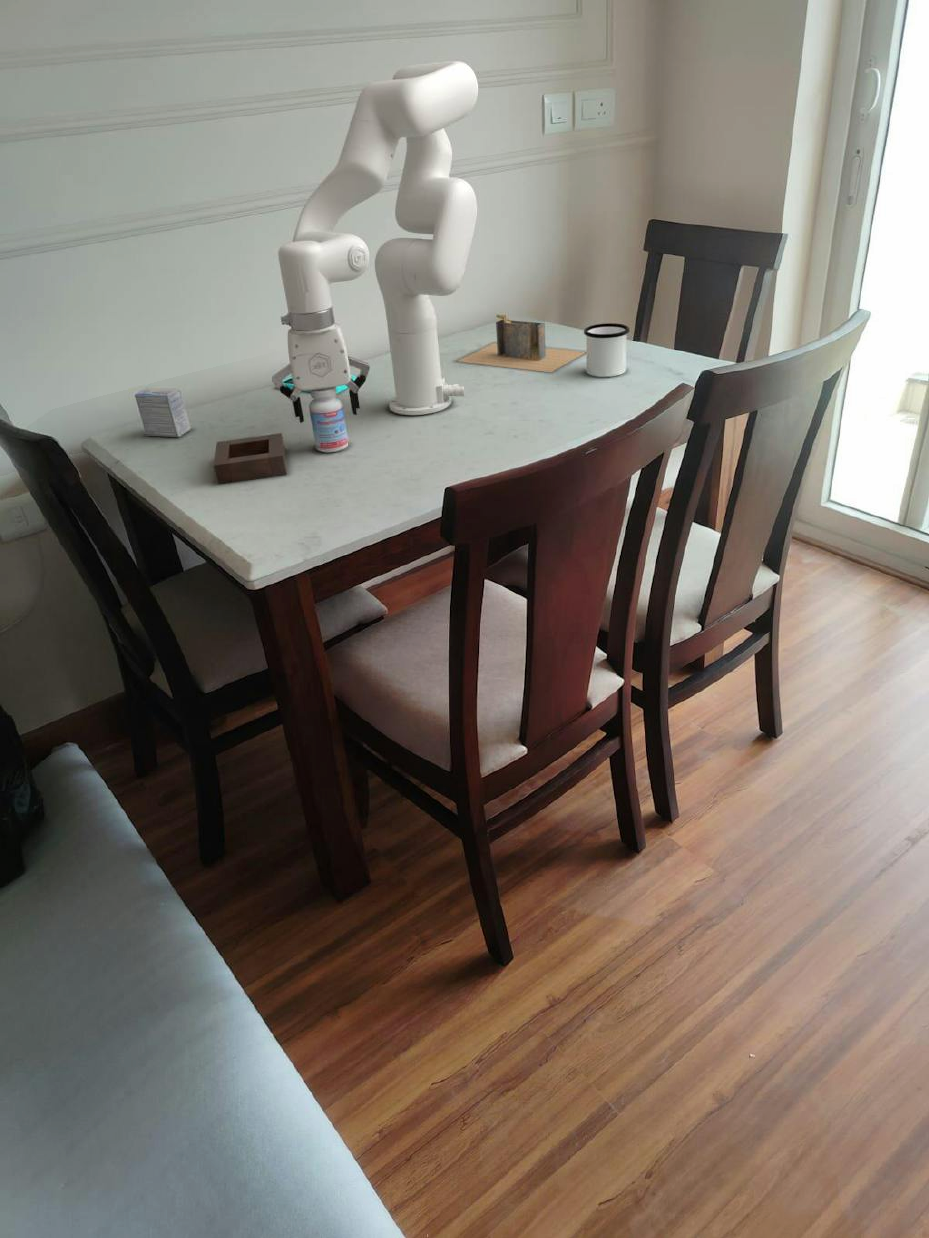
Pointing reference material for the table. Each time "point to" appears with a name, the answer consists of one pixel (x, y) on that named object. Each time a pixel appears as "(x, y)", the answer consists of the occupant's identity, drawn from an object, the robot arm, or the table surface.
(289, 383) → the handheld game console
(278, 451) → the holder
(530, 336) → the architectural model on board
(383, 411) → the table surface
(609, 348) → the mug
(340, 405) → the pill bottle
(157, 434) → the medicine box
